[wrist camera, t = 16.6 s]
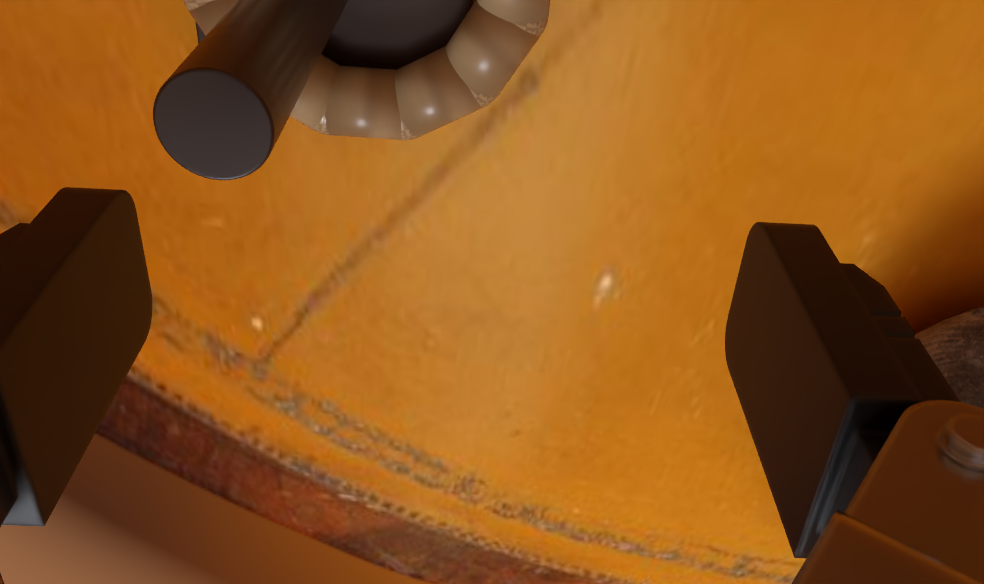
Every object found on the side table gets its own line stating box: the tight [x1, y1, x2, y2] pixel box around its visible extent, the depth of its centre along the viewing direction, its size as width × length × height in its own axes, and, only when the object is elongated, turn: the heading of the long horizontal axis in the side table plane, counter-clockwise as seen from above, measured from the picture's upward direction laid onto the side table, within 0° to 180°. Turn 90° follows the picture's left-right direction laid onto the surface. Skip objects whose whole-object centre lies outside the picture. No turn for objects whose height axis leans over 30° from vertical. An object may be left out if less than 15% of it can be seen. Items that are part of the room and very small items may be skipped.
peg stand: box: [153, 0, 473, 180], centre depth 20 cm, size 8×8×13 cm
